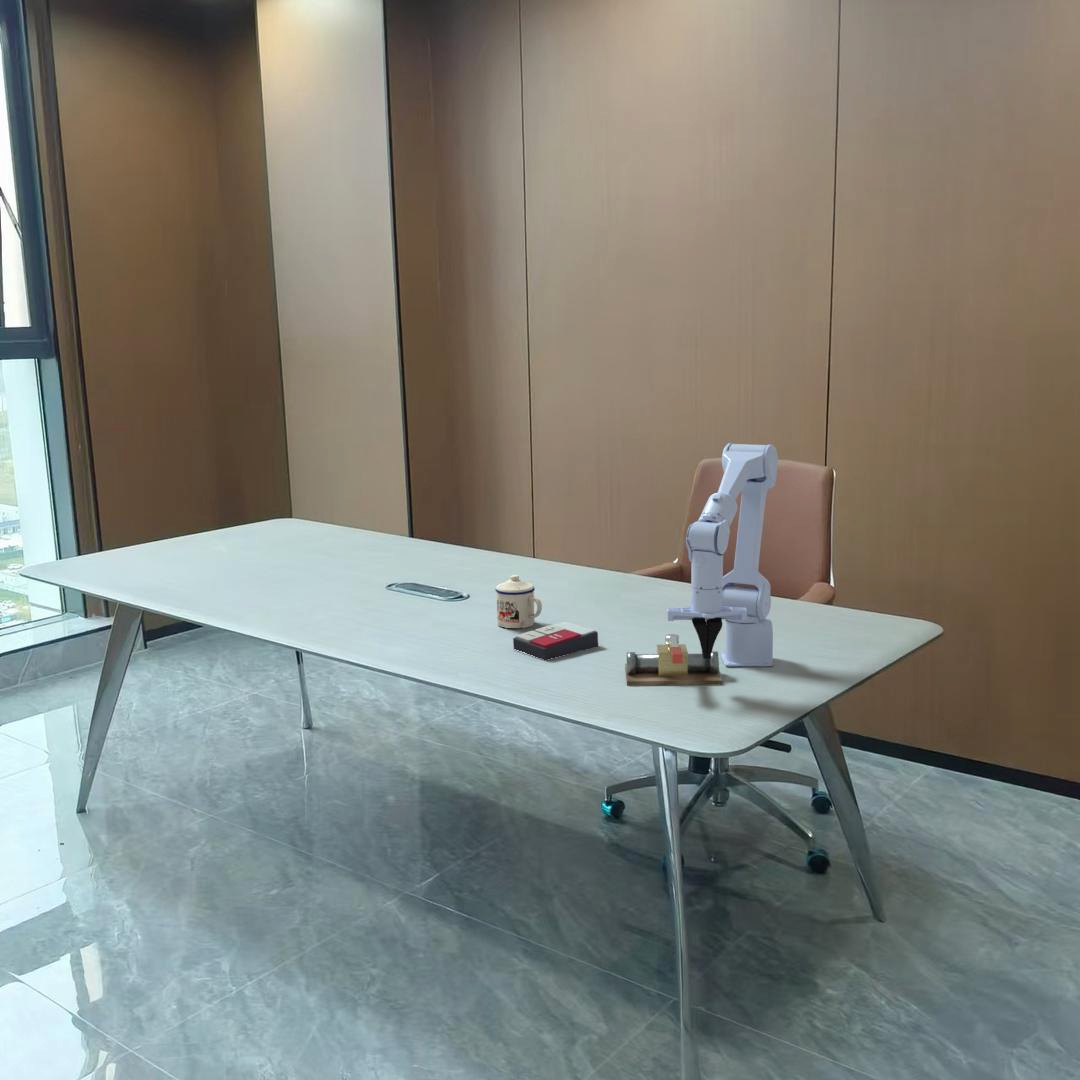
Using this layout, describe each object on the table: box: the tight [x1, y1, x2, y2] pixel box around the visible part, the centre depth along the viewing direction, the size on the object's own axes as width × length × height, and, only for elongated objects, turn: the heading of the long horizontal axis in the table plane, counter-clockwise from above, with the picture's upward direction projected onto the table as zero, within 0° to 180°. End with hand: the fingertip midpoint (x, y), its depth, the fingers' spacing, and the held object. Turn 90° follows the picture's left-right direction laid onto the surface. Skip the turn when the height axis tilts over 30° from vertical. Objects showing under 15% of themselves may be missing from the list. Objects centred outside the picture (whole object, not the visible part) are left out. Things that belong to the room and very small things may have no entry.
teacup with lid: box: [495, 574, 543, 629], centre depth 247 cm, size 12×9×12 cm
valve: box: [626, 643, 720, 676], centre depth 209 cm, size 18×5×6 cm, turn 87°
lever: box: [664, 633, 683, 664], centre depth 202 cm, size 3×14×2 cm, turn 178°
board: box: [624, 663, 723, 686], centre depth 209 cm, size 18×11×1 cm, turn 88°
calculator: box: [512, 620, 599, 661], centre depth 229 cm, size 11×4×15 cm
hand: (706, 657), depth 199 cm, fingers closed
